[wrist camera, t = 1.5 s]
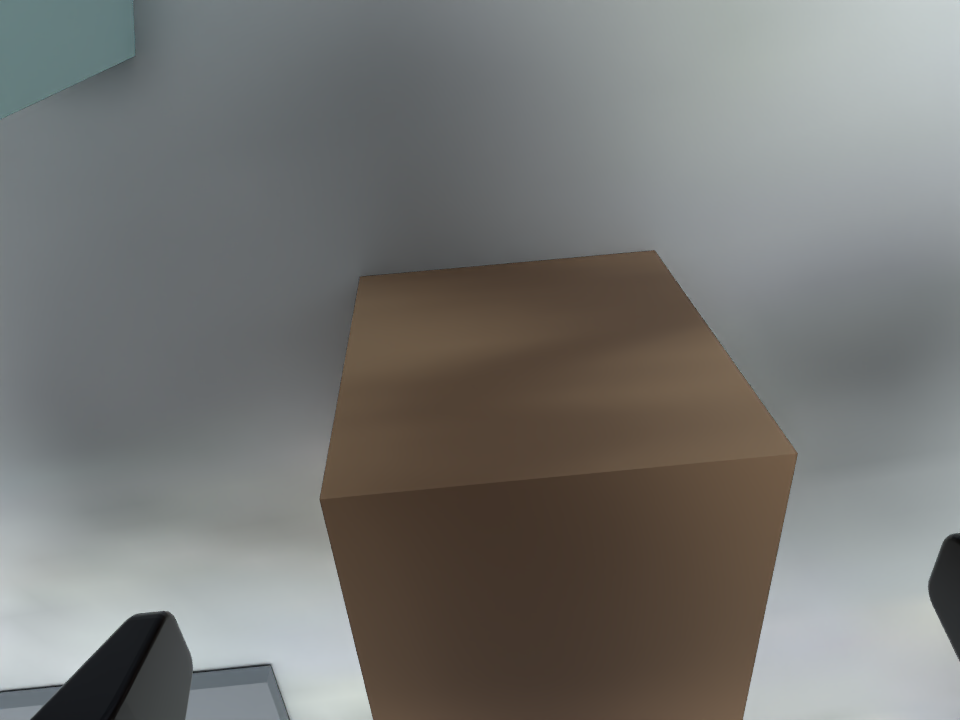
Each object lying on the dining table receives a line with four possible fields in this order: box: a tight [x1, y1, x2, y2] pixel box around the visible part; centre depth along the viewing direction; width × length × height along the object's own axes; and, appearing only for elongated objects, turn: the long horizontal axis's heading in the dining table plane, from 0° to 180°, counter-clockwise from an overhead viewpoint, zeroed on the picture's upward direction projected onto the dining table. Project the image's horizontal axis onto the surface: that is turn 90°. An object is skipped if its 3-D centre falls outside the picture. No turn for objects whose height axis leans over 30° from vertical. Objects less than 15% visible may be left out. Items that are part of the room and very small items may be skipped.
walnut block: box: [320, 250, 798, 720], centre depth 10 cm, size 4×4×5 cm
